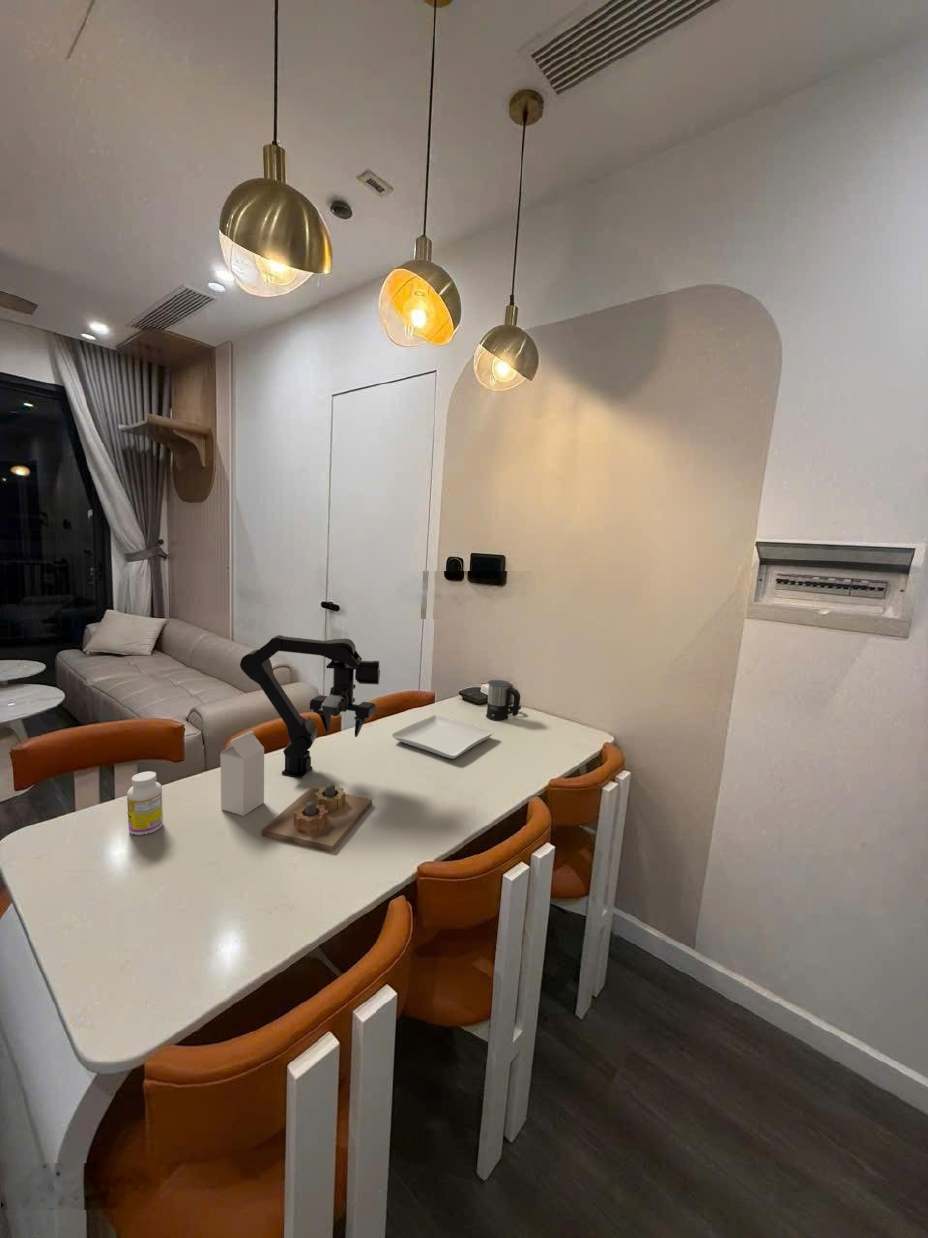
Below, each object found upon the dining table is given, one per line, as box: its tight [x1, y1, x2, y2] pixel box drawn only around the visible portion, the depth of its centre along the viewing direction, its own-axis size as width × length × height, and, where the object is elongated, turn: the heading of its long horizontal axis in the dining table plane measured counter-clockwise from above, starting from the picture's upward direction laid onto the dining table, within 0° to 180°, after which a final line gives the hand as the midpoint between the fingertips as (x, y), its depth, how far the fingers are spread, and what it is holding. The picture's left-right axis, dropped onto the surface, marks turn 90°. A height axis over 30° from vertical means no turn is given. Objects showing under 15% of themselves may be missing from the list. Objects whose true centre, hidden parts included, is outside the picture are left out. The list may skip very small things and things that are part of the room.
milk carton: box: [220, 730, 265, 817], centre depth 120 cm, size 7×7×19 cm
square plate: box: [390, 714, 495, 759], centre depth 170 cm, size 27×27×4 cm
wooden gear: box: [314, 786, 347, 812], centre depth 122 cm, size 7×7×3 cm
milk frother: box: [485, 679, 522, 722], centre depth 200 cm, size 14×16×15 cm
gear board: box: [261, 783, 373, 853], centre depth 118 cm, size 18×21×6 cm
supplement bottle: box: [126, 771, 164, 836], centre depth 109 cm, size 7×7×13 cm
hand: (341, 734), depth 141 cm, fingers open, 9 cm apart
